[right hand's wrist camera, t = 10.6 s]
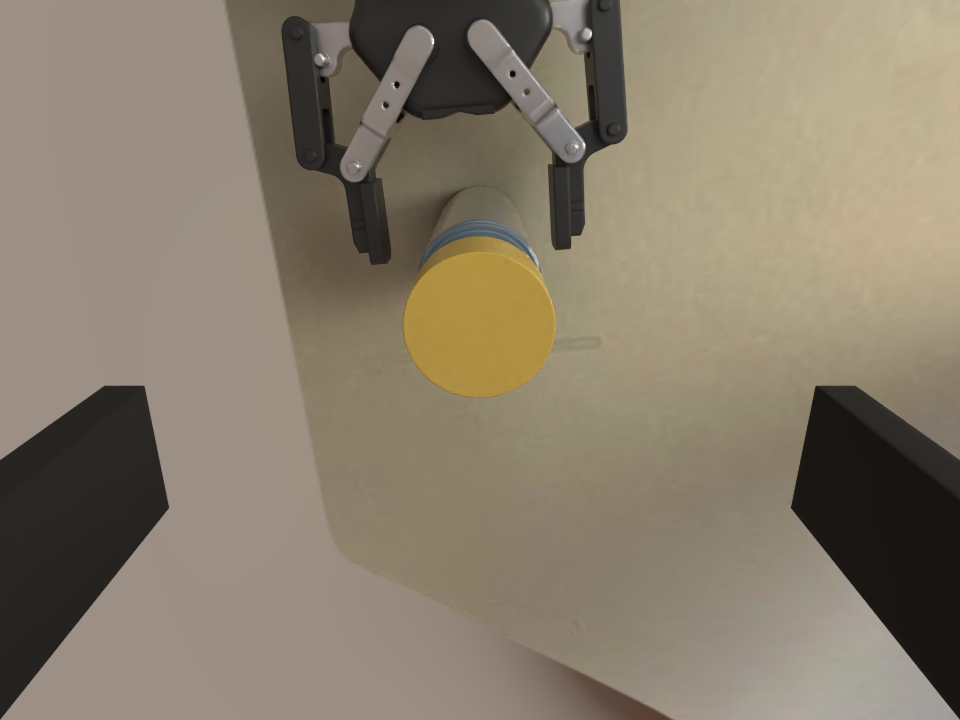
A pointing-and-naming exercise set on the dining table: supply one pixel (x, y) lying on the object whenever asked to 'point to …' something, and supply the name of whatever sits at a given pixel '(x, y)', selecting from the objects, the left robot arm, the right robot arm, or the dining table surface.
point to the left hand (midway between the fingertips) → (471, 254)
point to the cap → (479, 318)
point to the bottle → (480, 221)
